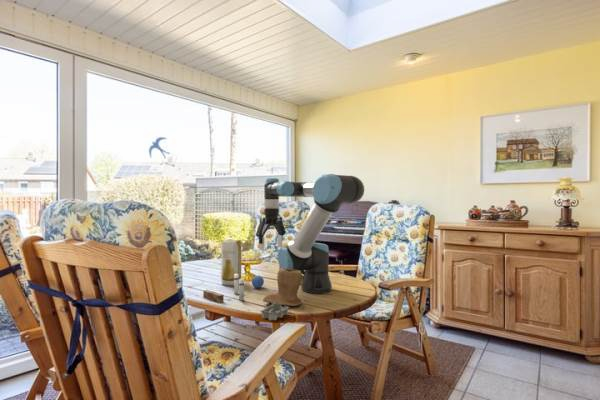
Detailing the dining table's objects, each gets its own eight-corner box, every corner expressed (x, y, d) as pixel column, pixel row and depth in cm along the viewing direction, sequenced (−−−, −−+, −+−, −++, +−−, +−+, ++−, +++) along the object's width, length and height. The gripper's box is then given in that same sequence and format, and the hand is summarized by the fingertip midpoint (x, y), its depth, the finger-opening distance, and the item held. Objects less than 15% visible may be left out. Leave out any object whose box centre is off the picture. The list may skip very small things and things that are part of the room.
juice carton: (219, 285, 171) (219, 238, 171) (226, 281, 178) (226, 236, 178) (236, 286, 169) (236, 239, 169) (242, 282, 176) (243, 237, 176)
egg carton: (277, 310, 133) (277, 300, 133) (291, 314, 129) (291, 304, 129) (258, 317, 125) (258, 306, 125) (272, 322, 120) (272, 311, 120)
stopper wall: (223, 301, 143) (223, 294, 143) (219, 302, 141) (219, 295, 141) (207, 296, 151) (207, 289, 151) (203, 297, 149) (203, 290, 149)
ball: (266, 287, 167) (266, 275, 167) (257, 290, 162) (257, 277, 162) (258, 285, 170) (258, 273, 170) (249, 287, 166) (249, 275, 166)
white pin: (239, 293, 155) (239, 274, 155) (236, 294, 154) (236, 275, 154) (236, 292, 157) (236, 273, 157) (233, 293, 155) (233, 274, 155)
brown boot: (306, 302, 144) (306, 267, 144) (295, 310, 133) (295, 272, 133) (275, 297, 150) (275, 264, 150) (262, 305, 139) (262, 269, 139)
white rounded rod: (244, 300, 145) (244, 279, 145) (241, 301, 144) (241, 280, 144) (241, 299, 147) (241, 278, 147) (237, 300, 145) (238, 279, 145)
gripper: (282, 207, 185) (281, 245, 185) (248, 208, 166) (248, 250, 166) (292, 207, 181) (292, 246, 181) (259, 208, 161) (258, 252, 161)
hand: (271, 248), depth 173 cm, fingers open, 13 cm apart
